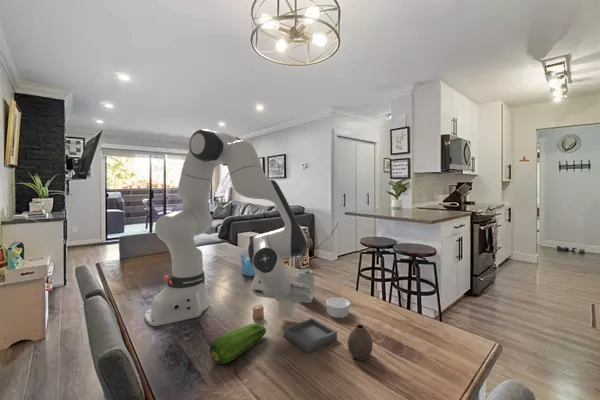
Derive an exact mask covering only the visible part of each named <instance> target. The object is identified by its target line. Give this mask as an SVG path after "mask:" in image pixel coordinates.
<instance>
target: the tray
mask: <svg viewBox="0 0 600 400" xmlns="http://www.w3.org/2000/svg"><path fill="white" fill-rule="evenodd" d="M283 337H284V338H285V339H286V340H288V341H289V342H291V343H292V344H293V345H294V346H295V347H297V348H299V350H301V351H303V352H304V353H306V354H307V355H309V354H311V353H314V352H315V351H317V350H319V349H321V348H322V347H325V346H326V345H329V344H331V343H333V342H334V341H336V340H338V331H336V330H334V328H331V327H330V326H328V325H327V324H324V323H323V322H321V321H319V320H317V319H315V318H314V317H310V318H307V319H305V320H301V321H300V322H297V323H295V324H293V325H290V326H287V327H286V328H283Z"/></svg>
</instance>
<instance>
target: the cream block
mask: <svg viewBox="0 0 600 400" xmlns="http://www.w3.org/2000/svg"><path fill="white" fill-rule="evenodd" d="M295 308H296V303H293V302H292V301H290V300H283V299H279V301H278V317H280V318H286V319H292V317H293V316H294V314H295V311H296V309H295Z"/></svg>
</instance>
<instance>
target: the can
mask: <svg viewBox="0 0 600 400" xmlns="http://www.w3.org/2000/svg"><path fill="white" fill-rule="evenodd" d="M295 283H301V284H306V285H308V286H309V287H310V288H311V290H312V291H313V299H314V297H315V274H314V273H313V270H312V269H310V268H300V269H298V270H297V273H296V274H295Z"/></svg>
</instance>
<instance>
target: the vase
mask: <svg viewBox="0 0 600 400" xmlns="http://www.w3.org/2000/svg"><path fill="white" fill-rule="evenodd" d="M373 346H374V345H373V339H372V336H371V335H370V333H369V331H368V330H367V329H366V327H365V325H363V324H356V325H355V327H354V329H352V330H351V332H350V334H349V335H348V338H347V348H348V351H349V353H350V355H351V356H352V357H353V358H354V359H355V360H358V361H364V360H367V359H368V358H369V357H371V354H372V351H373Z"/></svg>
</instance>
